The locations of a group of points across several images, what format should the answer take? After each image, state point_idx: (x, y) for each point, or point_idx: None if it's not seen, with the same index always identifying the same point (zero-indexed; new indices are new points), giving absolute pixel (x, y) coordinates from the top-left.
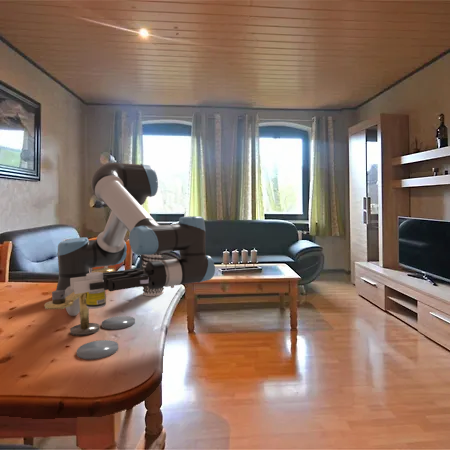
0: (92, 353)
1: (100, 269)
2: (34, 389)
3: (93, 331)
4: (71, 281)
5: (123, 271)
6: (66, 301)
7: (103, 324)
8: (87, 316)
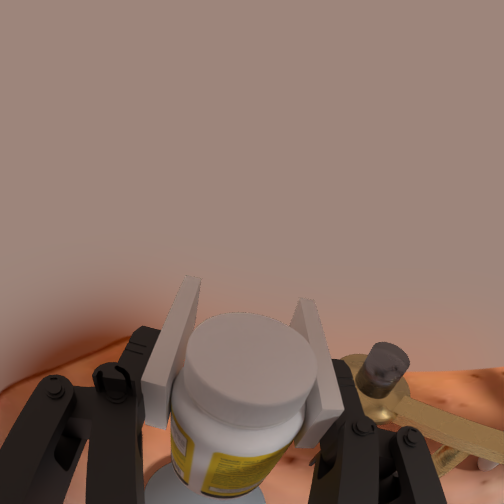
0: (172, 480)
1: None
2: (117, 359)
3: None
4: (295, 310)
5: None
6: (378, 401)
7: None
8: None
